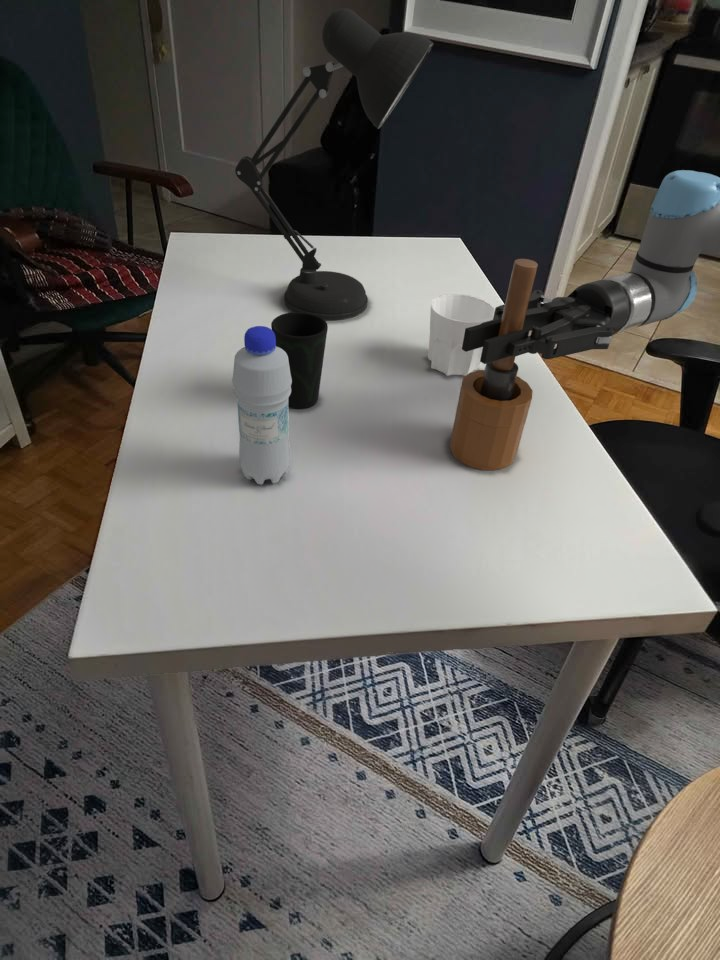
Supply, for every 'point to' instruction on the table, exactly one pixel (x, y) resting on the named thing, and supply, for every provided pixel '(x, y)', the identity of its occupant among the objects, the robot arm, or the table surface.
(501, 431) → the wooden hollow tube
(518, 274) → the wooden handled pestle
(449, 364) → the cup
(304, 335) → the cup
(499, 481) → the table surface
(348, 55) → the desk lamp
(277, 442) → the bottle
